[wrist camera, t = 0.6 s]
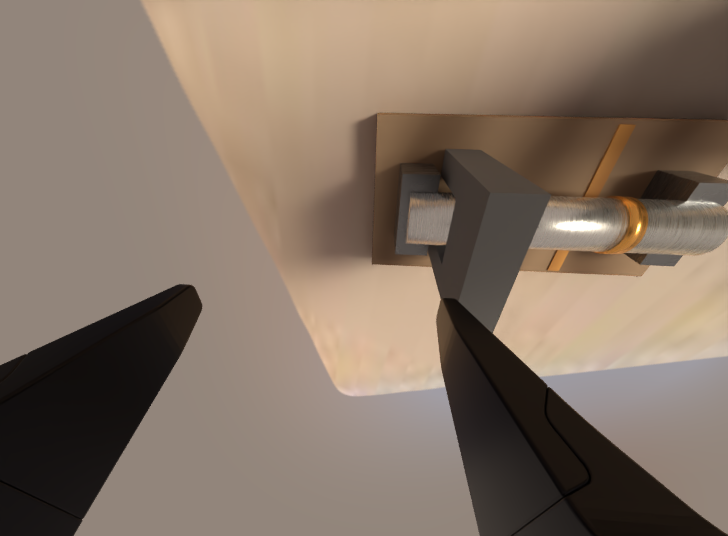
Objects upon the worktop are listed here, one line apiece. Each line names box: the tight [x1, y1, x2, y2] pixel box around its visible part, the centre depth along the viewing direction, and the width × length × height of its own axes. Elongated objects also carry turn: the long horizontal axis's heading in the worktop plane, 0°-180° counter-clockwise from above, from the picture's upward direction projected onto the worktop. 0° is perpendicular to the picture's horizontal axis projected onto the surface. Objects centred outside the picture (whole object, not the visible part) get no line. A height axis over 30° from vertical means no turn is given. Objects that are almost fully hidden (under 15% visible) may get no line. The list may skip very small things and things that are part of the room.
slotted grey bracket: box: [428, 149, 551, 333], centre depth 14 cm, size 2×7×8 cm, turn 179°
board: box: [372, 113, 728, 276], centre depth 18 cm, size 20×10×2 cm, turn 89°
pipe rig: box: [394, 163, 728, 266], centre depth 15 cm, size 17×5×4 cm, turn 89°
